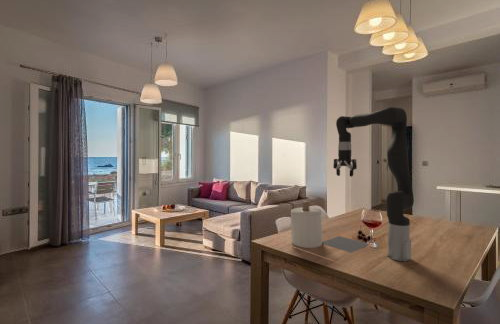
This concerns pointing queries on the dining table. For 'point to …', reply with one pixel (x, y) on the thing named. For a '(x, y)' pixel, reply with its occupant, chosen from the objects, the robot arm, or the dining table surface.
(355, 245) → the mat
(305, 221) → the white cylindrical cover
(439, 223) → the dining table surface
